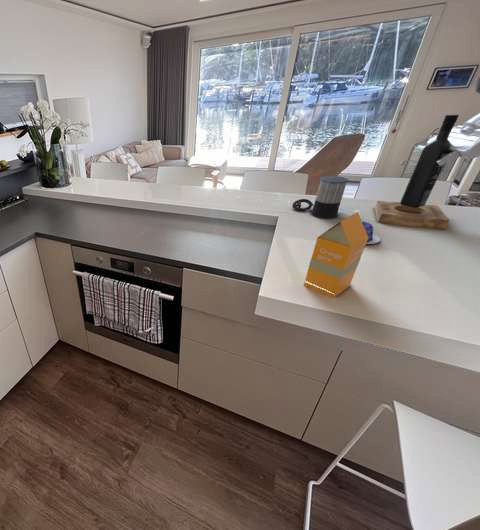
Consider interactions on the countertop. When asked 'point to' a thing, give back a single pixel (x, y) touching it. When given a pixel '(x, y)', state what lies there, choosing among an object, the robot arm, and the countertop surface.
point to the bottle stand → (411, 215)
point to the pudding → (370, 233)
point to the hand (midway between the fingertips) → (429, 161)
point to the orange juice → (337, 256)
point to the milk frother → (325, 197)
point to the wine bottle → (428, 166)
